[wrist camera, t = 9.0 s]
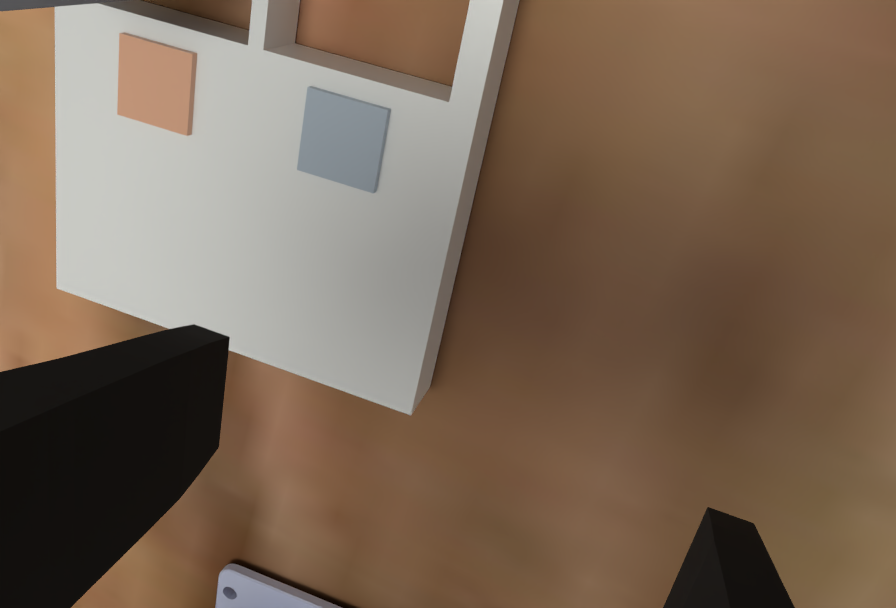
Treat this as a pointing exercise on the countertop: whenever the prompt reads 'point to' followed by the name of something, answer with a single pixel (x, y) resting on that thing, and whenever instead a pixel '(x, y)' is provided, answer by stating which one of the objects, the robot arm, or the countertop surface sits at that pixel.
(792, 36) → the countertop surface
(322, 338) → the socket board
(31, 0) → the plug
